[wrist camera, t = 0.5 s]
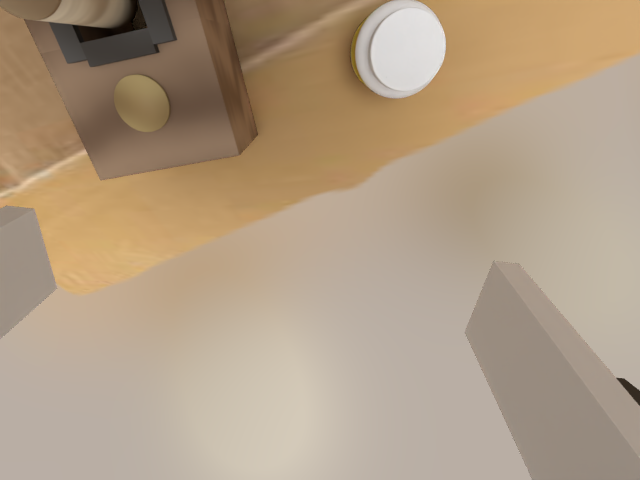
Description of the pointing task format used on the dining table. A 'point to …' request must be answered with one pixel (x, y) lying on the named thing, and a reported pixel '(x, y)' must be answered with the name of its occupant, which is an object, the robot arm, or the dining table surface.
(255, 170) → the dining table surface
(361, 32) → the pill bottle
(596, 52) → the dining table surface
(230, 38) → the socket block
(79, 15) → the oak peg
